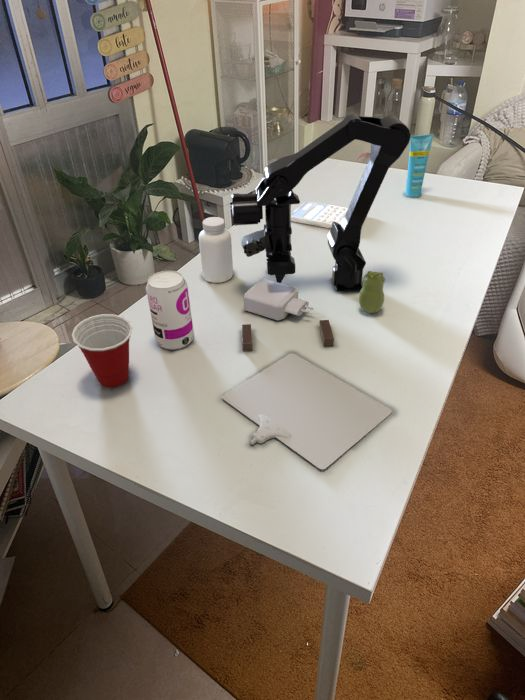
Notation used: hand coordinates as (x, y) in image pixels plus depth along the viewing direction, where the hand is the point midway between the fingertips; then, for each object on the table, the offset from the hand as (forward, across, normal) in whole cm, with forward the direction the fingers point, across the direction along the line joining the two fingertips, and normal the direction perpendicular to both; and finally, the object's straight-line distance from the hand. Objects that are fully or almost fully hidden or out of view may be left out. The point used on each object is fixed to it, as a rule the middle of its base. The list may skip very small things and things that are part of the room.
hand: (278, 282), depth 129 cm
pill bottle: (+2, -8, -15) cm, 17 cm away
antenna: (+2, +43, 0) cm, 43 cm away
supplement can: (+2, +19, -24) cm, 30 cm away
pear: (+2, +11, +20) cm, 23 cm away
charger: (+2, +10, 0) cm, 10 cm away
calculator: (+2, -40, +18) cm, 44 cm away
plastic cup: (+2, +31, -35) cm, 47 cm away
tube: (+2, -56, +49) cm, 74 cm away
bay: (+2, +21, 0) cm, 21 cm away
